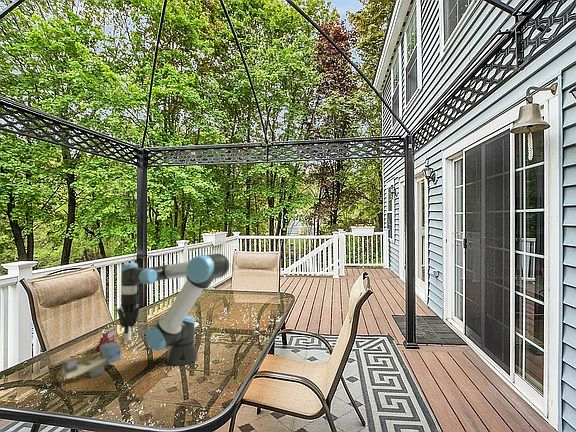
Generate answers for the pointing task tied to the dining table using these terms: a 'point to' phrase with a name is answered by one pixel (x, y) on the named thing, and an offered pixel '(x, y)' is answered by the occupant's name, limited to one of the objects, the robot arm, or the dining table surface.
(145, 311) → the dining table surface
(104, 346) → the grey block
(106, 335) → the toy fire truck
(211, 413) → the dining table surface
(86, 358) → the rock
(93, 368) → the beam
